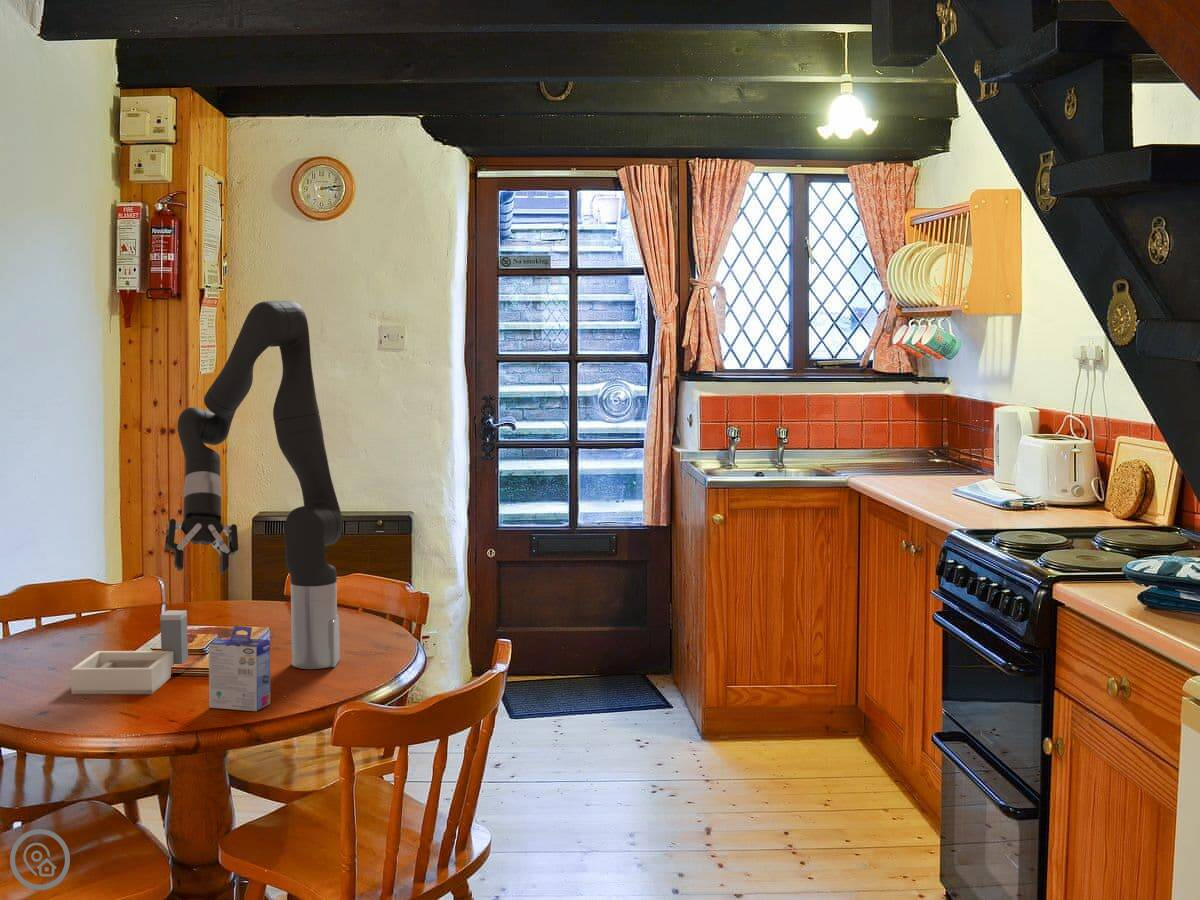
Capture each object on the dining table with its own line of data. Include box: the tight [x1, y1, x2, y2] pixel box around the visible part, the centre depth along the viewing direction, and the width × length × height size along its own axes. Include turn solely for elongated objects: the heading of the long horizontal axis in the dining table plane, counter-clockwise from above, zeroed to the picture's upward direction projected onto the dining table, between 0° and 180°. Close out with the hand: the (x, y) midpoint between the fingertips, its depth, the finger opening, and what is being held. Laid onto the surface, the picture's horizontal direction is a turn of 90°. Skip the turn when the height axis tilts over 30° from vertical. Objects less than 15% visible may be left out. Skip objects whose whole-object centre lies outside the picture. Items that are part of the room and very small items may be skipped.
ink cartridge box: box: [208, 625, 272, 712], centre depth 219 cm, size 10×6×14 cm, turn 78°
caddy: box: [70, 650, 174, 695], centre depth 233 cm, size 15×13×5 cm
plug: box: [159, 609, 189, 664], centre depth 242 cm, size 4×4×12 cm
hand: (201, 571), depth 245 cm, fingers open, 8 cm apart
